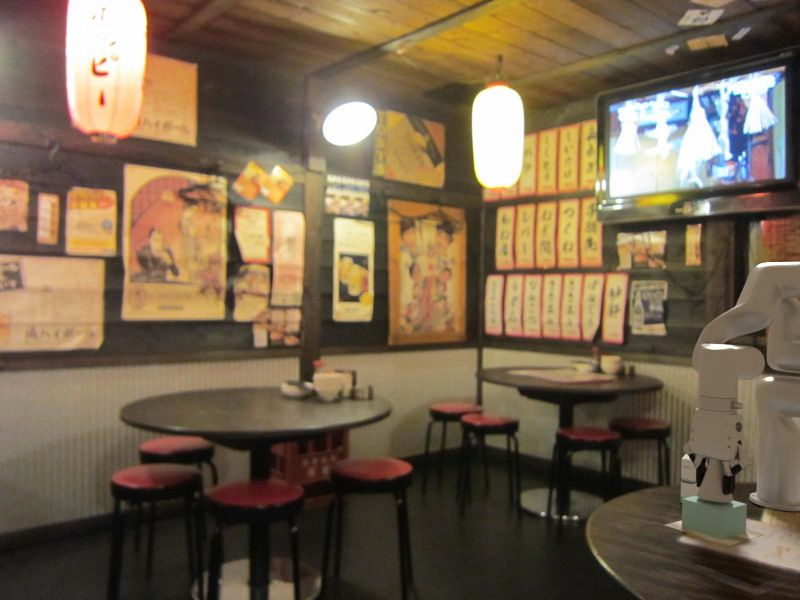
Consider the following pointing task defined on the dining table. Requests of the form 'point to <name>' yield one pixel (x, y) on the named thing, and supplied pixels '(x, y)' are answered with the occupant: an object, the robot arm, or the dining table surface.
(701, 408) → the robot arm
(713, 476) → the flask
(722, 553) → the dining table surface
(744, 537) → the base board
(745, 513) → the teal block
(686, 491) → the ink box
